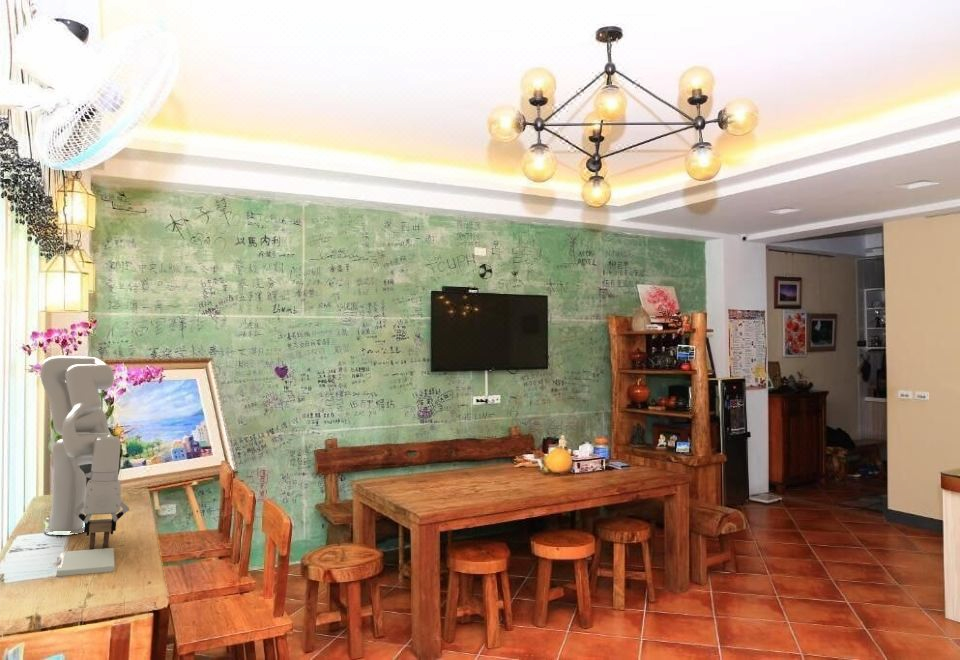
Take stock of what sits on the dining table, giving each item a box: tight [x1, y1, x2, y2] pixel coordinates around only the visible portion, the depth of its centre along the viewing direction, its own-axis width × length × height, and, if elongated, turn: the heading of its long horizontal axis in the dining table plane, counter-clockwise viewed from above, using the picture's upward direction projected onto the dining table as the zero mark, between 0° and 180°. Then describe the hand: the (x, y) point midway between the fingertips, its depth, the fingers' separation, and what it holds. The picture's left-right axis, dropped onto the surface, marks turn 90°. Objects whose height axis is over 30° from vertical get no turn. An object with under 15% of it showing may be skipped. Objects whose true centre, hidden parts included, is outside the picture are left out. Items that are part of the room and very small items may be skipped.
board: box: [56, 547, 115, 577], centre depth 199 cm, size 18×14×2 cm
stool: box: [88, 518, 112, 550], centre depth 214 cm, size 6×6×8 cm
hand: (99, 533), depth 214 cm, fingers closed on stool, 6 cm apart
